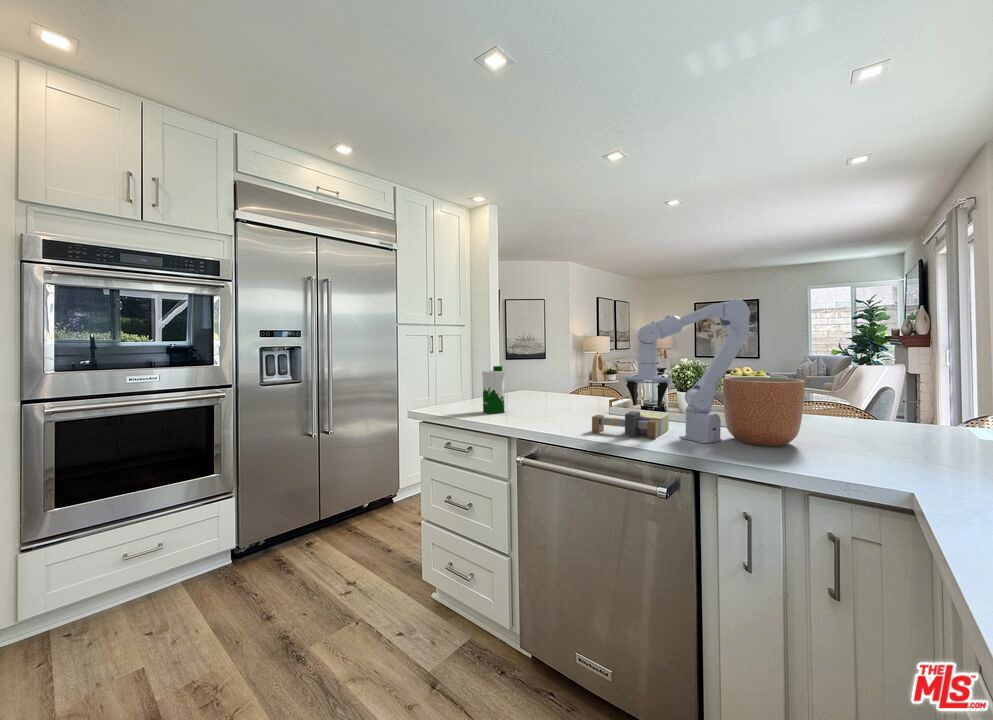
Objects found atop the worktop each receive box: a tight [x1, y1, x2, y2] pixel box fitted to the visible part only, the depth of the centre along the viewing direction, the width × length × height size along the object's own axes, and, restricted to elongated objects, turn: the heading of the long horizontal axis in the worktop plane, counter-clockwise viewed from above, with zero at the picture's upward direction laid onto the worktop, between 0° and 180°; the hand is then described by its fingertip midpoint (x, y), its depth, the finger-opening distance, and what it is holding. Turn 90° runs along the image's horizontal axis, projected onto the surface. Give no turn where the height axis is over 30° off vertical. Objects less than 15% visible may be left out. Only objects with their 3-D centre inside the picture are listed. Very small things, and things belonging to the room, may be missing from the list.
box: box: [638, 410, 670, 436], centre depth 147 cm, size 10×6×12 cm
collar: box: [624, 411, 641, 438], centre depth 141 cm, size 3×7×7 cm, turn 148°
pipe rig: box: [591, 414, 659, 440], centre depth 142 cm, size 20×5×5 cm, turn 58°
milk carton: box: [481, 365, 506, 415], centre depth 189 cm, size 9×9×20 cm
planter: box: [722, 376, 806, 447], centre depth 130 cm, size 21×21×19 cm
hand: (647, 405), depth 138 cm, fingers open, 7 cm apart
